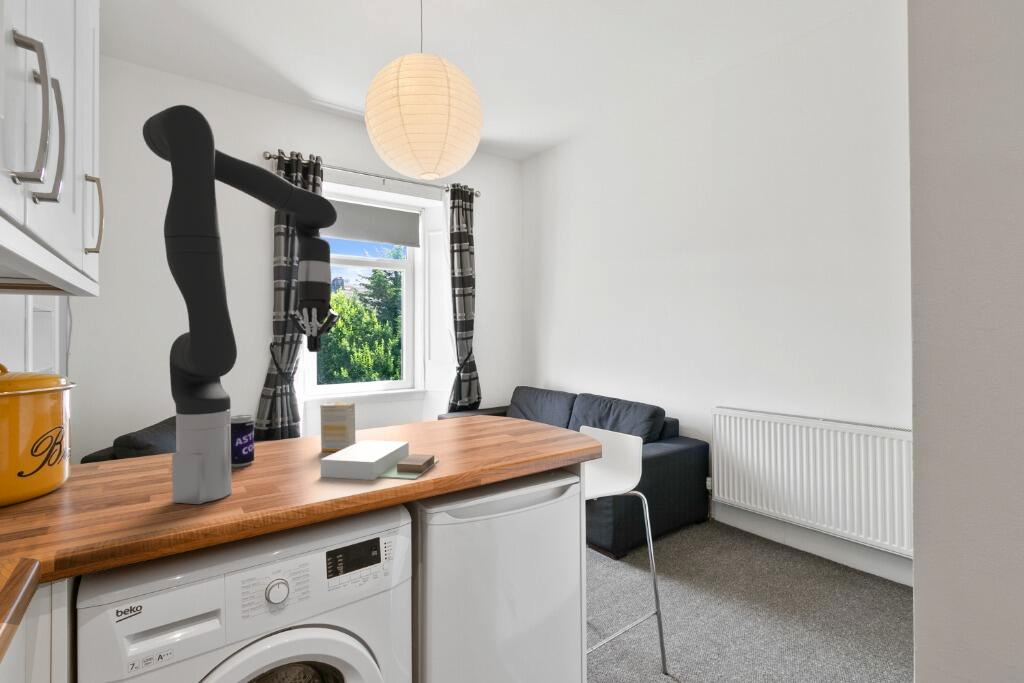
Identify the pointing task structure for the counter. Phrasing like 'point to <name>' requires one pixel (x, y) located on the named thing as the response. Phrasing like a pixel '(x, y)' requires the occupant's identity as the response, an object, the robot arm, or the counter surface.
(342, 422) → the supplement box
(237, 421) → the beverage can
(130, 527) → the counter surface
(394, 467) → the mat
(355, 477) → the white flat block
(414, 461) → the brown wooden block
